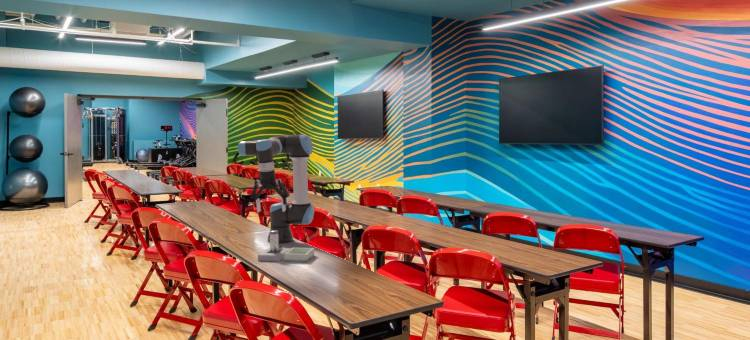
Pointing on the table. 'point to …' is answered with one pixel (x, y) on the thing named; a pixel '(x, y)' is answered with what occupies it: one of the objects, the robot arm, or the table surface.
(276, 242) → the shiny metal cylinder
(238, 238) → the table surface
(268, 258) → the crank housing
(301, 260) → the parts tray
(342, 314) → the table surface
